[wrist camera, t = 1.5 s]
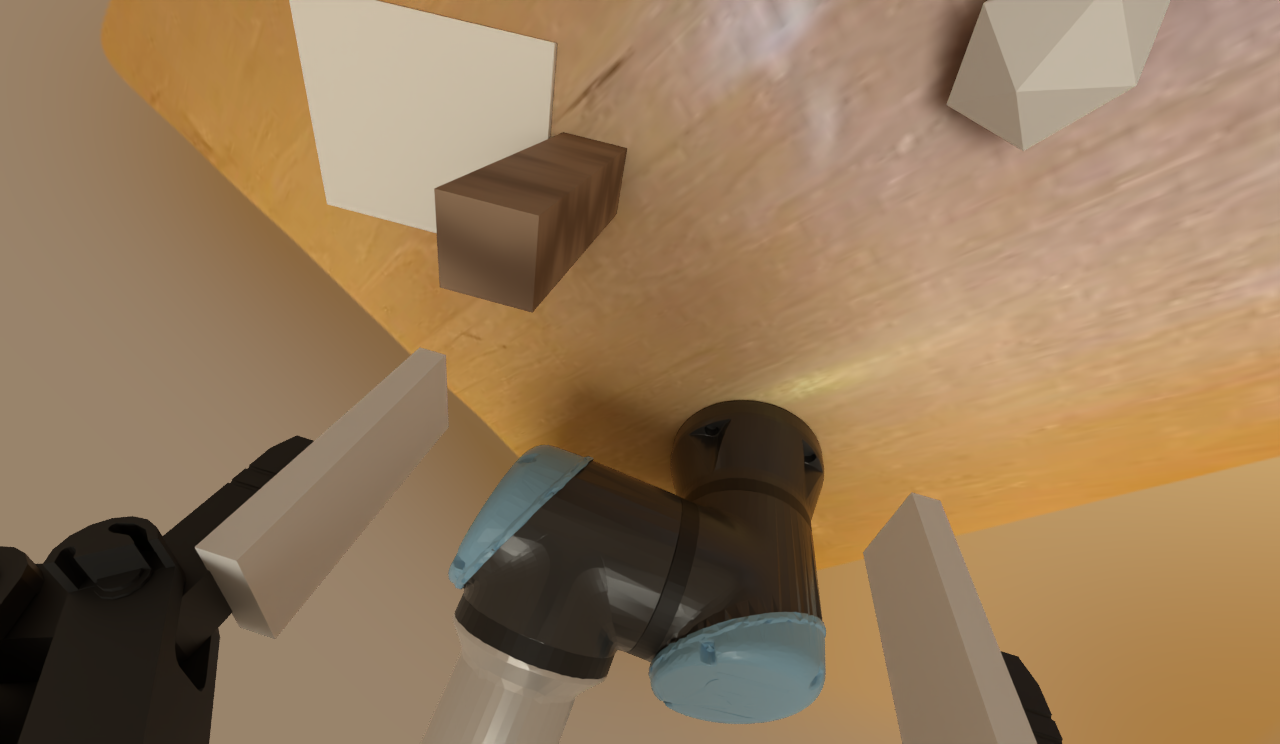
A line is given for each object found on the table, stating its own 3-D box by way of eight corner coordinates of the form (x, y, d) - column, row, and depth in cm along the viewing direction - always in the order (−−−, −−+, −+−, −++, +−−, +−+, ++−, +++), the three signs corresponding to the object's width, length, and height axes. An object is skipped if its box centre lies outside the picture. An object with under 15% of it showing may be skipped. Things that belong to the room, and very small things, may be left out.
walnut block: (616, 213, 39) (532, 312, 25) (557, 198, 40) (439, 287, 25) (627, 148, 36) (538, 215, 22) (563, 132, 37) (434, 188, 22)
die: (912, 128, 33) (1034, 201, 27) (919, -9, 26) (1084, 51, 20) (1025, 53, 32) (1176, 112, 26) (1064, -110, 25) (1280, -77, 19)
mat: (541, 258, 43) (539, 260, 42) (331, 202, 44) (327, 204, 44) (557, 43, 34) (554, 43, 33) (291, -21, 35) (285, -22, 34)
